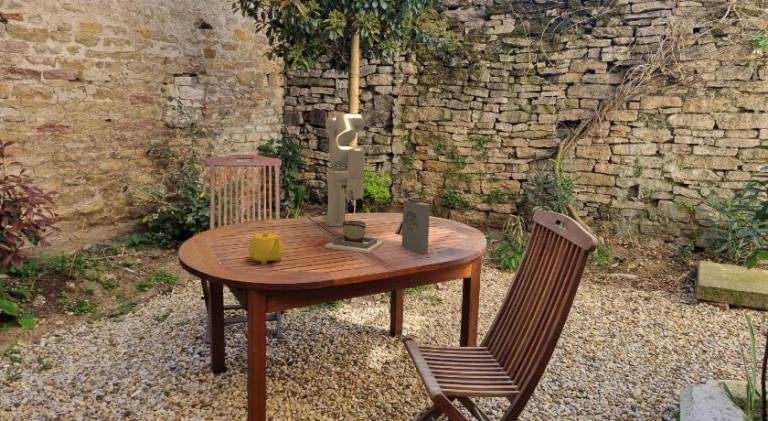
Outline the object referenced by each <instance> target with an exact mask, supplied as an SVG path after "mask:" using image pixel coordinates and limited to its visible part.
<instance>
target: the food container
mask: <svg viewBox="0 0 768 421" xmlns="http://www.w3.org/2000/svg"><path fill="white" fill-rule="evenodd" d="M341 227H342V233H343V234H342V235H344V241H349V242H357V243H363V242H364V237H365V233H366V232H365V231H366V229H367V224H366V222H364V221H361V220H345V221H344V222H343V223H342V226H341Z"/></svg>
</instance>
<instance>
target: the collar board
mask: <svg viewBox="0 0 768 421" xmlns="http://www.w3.org/2000/svg"><path fill="white" fill-rule="evenodd" d="M382 245H384V241H381V240H378V238H376V237H375V238H374V237H367V236H364V242H363V243H357V242H349V241H344V235H343V234H341V235H339V236H337V237H336V238H333V239H331V241H330V242H329V243H326V244H325V245H324V248H326V249H333V250H339V251H340V250H341V251H348V252H356V253H364V254H370V253H372V252H374V251H376V250H377V249H378V248H380V247H381V246H382Z"/></svg>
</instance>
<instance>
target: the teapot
mask: <svg viewBox="0 0 768 421" xmlns="http://www.w3.org/2000/svg"><path fill="white" fill-rule="evenodd" d="M247 253H248V255H249V256H250V258H251V259H253V262H260V264H261V265H267V263H268V261H273V262H276V263H277V262H280V259H281V258H282V257H283V255H284V253H285V249H284V245H283V241H282V240H281V238H280V236H279V235H278V234H275V233H272V232H270V231H268V230H264V231H262V233H257V232H254V233H253V236H252V238H251V240H250V243H249V246H248V252H247Z"/></svg>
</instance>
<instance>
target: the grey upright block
mask: <svg viewBox="0 0 768 421" xmlns="http://www.w3.org/2000/svg"><path fill="white" fill-rule="evenodd" d="M402 204H403V206H402V220H403V228H402V235H401V246H402V247H403V248H405V249H407V250H410V251H411V252H414V253H418V254H421V255H427V254H428V253H429V237H430V235H429V233H430V215H431V214H430V212H431V210H430V208H431V204H430V203H425V202H422V201H420V196H414V195H413V196H410V197H407V198H404V199H403V203H402Z"/></svg>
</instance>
